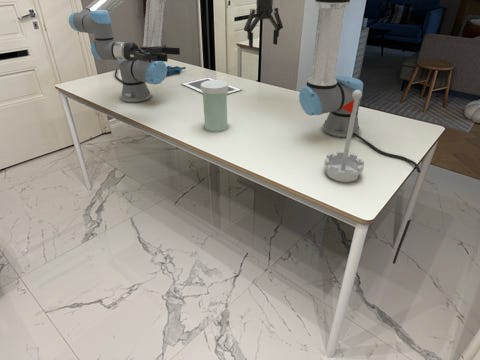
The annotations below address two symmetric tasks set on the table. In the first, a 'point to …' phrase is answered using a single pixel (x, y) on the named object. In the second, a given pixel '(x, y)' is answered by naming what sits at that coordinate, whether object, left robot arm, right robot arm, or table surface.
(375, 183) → the table surface
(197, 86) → the tablet
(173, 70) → the submachine gun
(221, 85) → the lid
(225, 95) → the jar
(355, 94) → the flag stand
